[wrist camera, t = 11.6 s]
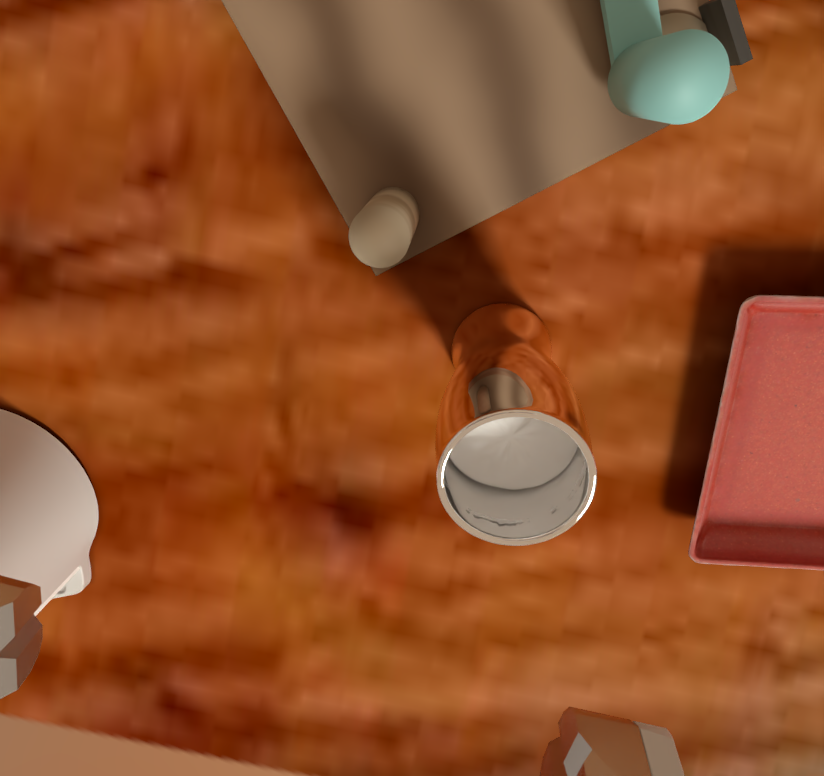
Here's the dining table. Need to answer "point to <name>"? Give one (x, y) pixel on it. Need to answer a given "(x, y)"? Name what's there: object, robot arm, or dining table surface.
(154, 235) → the dining table surface
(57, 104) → the dining table surface
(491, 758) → the dining table surface
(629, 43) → the folding leg
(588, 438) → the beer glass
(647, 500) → the dining table surface
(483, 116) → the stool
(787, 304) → the plant saucer
